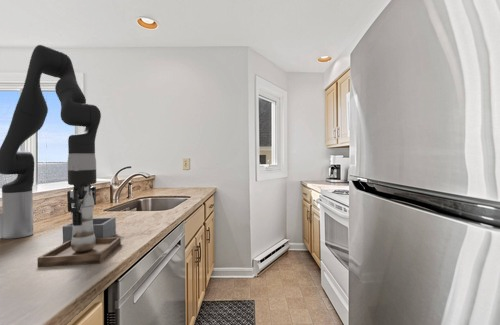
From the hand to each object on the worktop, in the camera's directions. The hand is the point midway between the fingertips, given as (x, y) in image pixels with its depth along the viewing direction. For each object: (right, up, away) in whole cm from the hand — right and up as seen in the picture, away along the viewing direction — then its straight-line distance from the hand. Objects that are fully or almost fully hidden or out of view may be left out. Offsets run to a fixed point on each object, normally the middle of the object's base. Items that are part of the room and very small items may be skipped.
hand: (83, 222), depth 87 cm
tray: (0, -10, 0) cm, 10 cm away
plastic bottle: (0, -9, 0) cm, 9 cm away
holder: (-7, -10, +17) cm, 21 cm away
